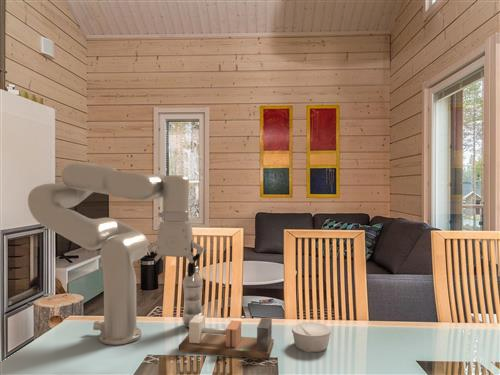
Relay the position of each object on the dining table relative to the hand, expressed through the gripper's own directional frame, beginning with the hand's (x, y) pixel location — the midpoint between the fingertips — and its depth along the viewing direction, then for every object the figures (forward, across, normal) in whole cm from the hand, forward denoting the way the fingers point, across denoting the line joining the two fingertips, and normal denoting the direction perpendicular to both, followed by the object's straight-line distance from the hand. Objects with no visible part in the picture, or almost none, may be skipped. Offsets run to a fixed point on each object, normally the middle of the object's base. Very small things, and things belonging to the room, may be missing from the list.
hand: (175, 274), depth 123 cm
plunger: (+19, +11, 0) cm, 22 cm away
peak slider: (+19, +18, -1) cm, 26 cm away
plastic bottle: (+21, +1, +14) cm, 25 cm away
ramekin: (+21, +40, +6) cm, 45 cm away
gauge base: (+20, +16, 0) cm, 26 cm away
